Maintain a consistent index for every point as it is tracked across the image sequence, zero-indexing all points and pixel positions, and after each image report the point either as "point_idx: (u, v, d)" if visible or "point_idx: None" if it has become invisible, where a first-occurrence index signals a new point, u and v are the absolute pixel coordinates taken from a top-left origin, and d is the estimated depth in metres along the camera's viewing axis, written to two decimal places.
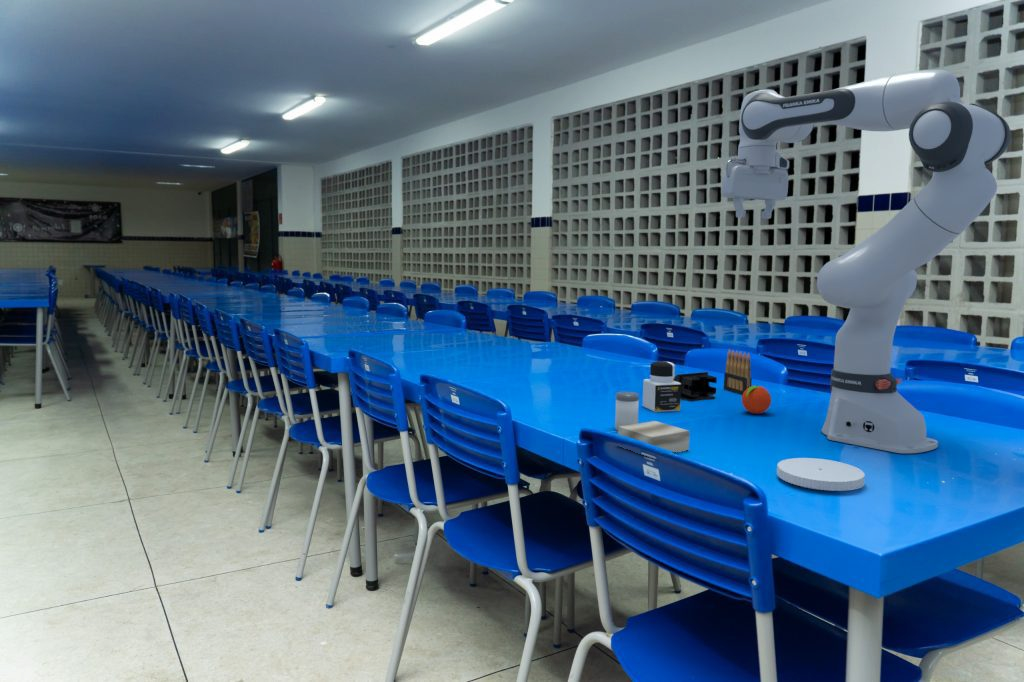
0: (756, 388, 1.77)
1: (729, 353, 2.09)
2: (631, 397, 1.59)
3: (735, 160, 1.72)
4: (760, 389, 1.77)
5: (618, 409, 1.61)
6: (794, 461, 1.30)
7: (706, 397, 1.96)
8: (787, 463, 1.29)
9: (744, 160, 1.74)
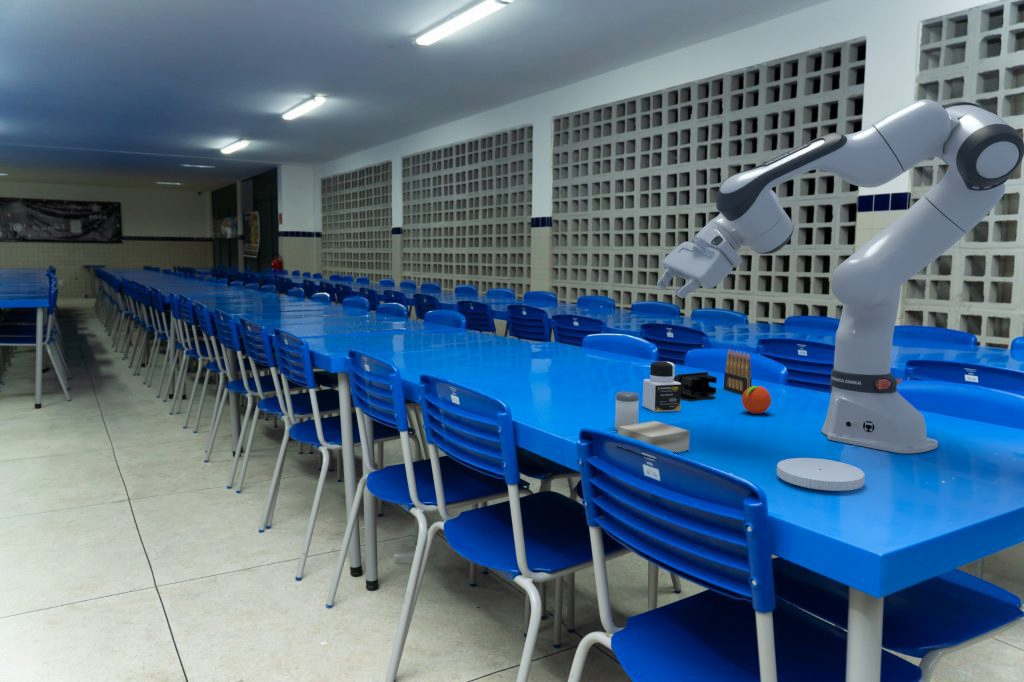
0: (756, 388, 1.77)
1: (729, 353, 2.09)
2: (631, 397, 1.59)
3: (693, 240, 1.65)
4: (760, 389, 1.77)
5: (618, 409, 1.61)
6: (794, 461, 1.30)
7: (706, 397, 1.96)
8: (786, 463, 1.29)
9: None
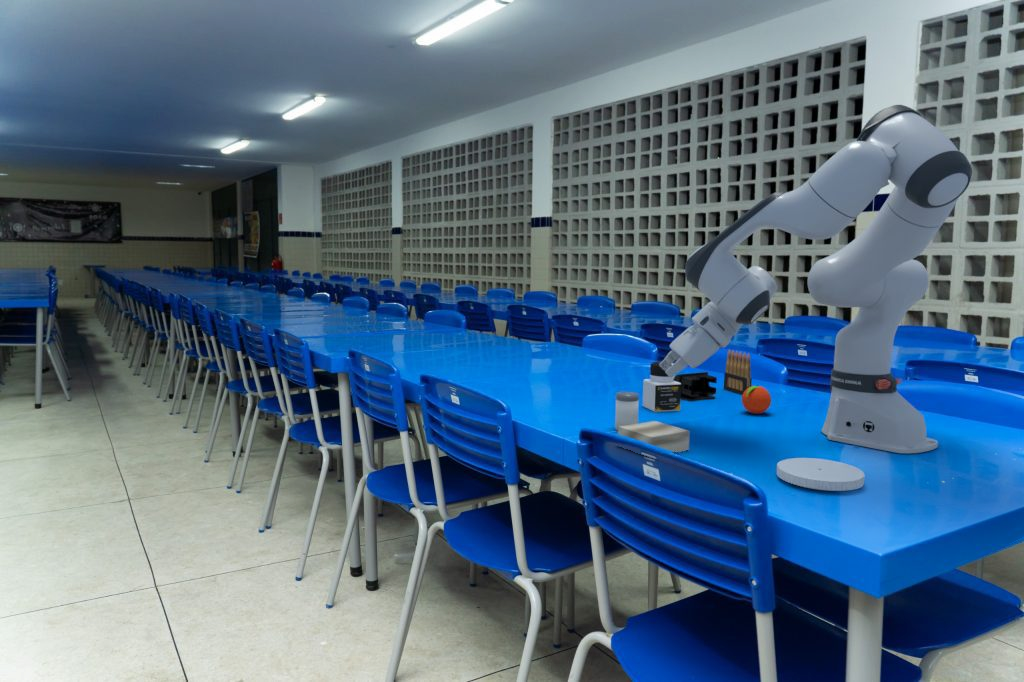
0: (756, 388, 1.77)
1: (729, 353, 2.09)
2: (631, 397, 1.59)
3: None
4: (760, 389, 1.77)
5: (618, 409, 1.61)
6: (794, 461, 1.30)
7: (706, 397, 1.96)
8: (786, 463, 1.29)
9: None
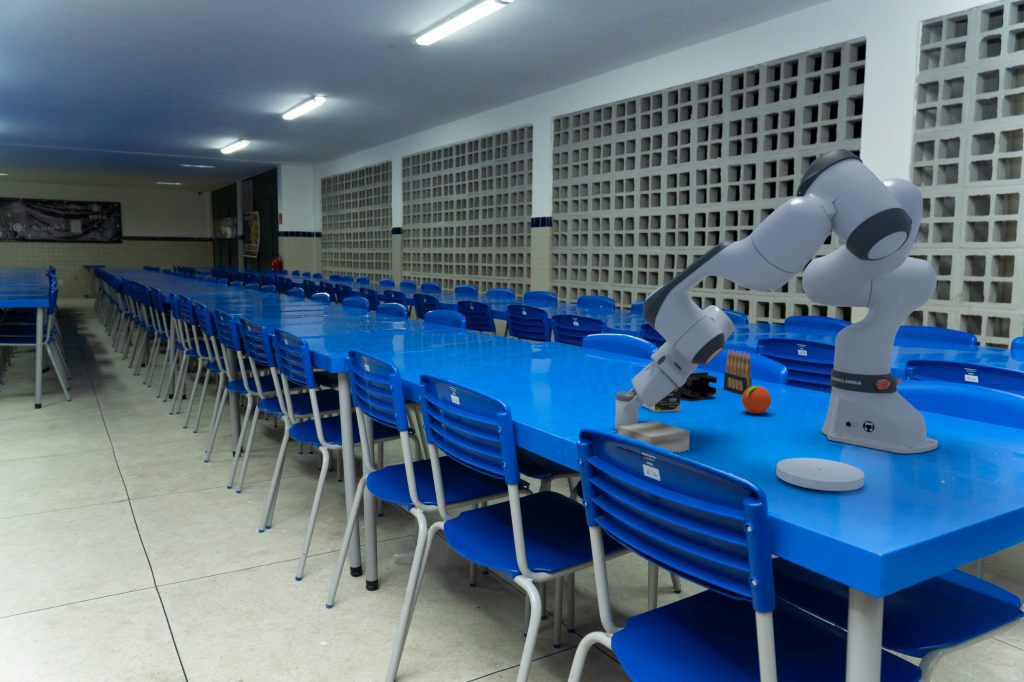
0: (756, 388, 1.77)
1: (729, 353, 2.09)
2: (631, 397, 1.59)
3: None
4: (760, 389, 1.77)
5: (618, 408, 1.61)
6: (793, 461, 1.30)
7: (706, 397, 1.96)
8: (786, 463, 1.29)
9: None
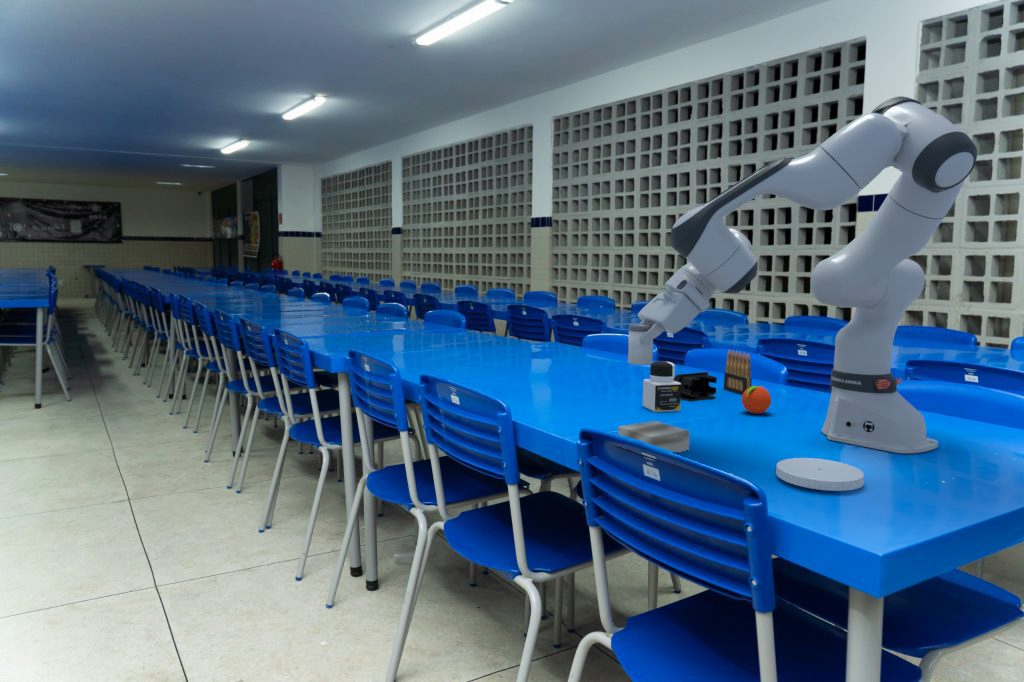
0: (756, 388, 1.77)
1: (729, 353, 2.09)
2: (647, 327, 1.49)
3: None
4: (760, 389, 1.77)
5: (632, 340, 1.50)
6: (793, 461, 1.30)
7: (706, 397, 1.96)
8: (786, 463, 1.29)
9: None
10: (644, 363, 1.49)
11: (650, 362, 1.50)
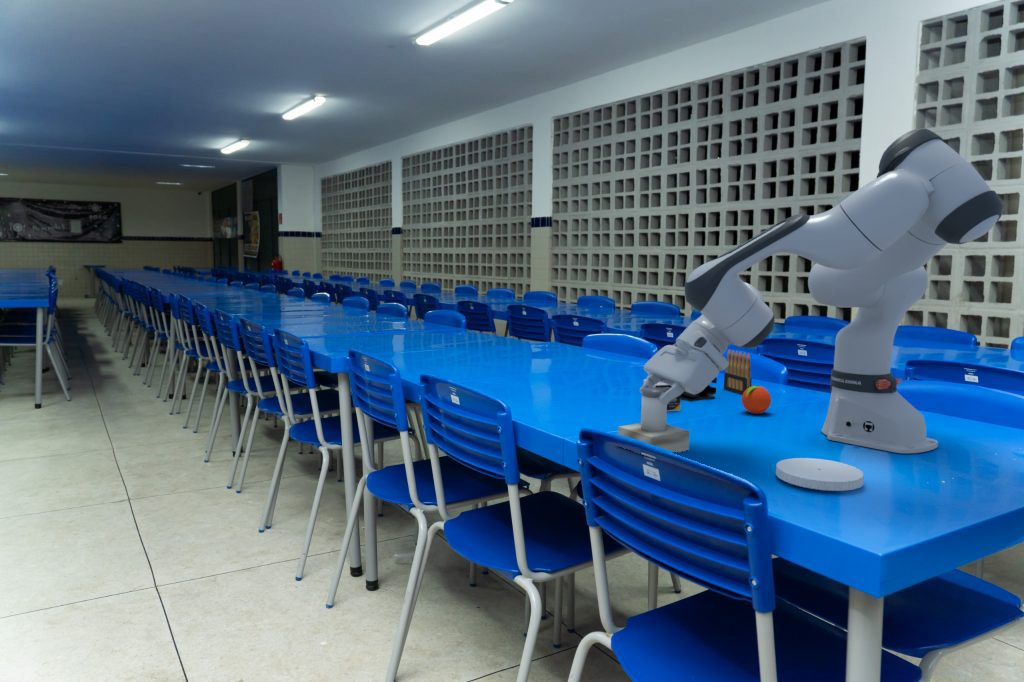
0: (756, 388, 1.77)
1: (729, 353, 2.09)
2: None
3: (675, 343, 1.54)
4: (760, 389, 1.77)
5: (647, 406, 1.44)
6: (793, 461, 1.30)
7: (706, 397, 1.96)
8: (785, 463, 1.29)
9: None
10: (659, 430, 1.44)
11: (664, 428, 1.45)
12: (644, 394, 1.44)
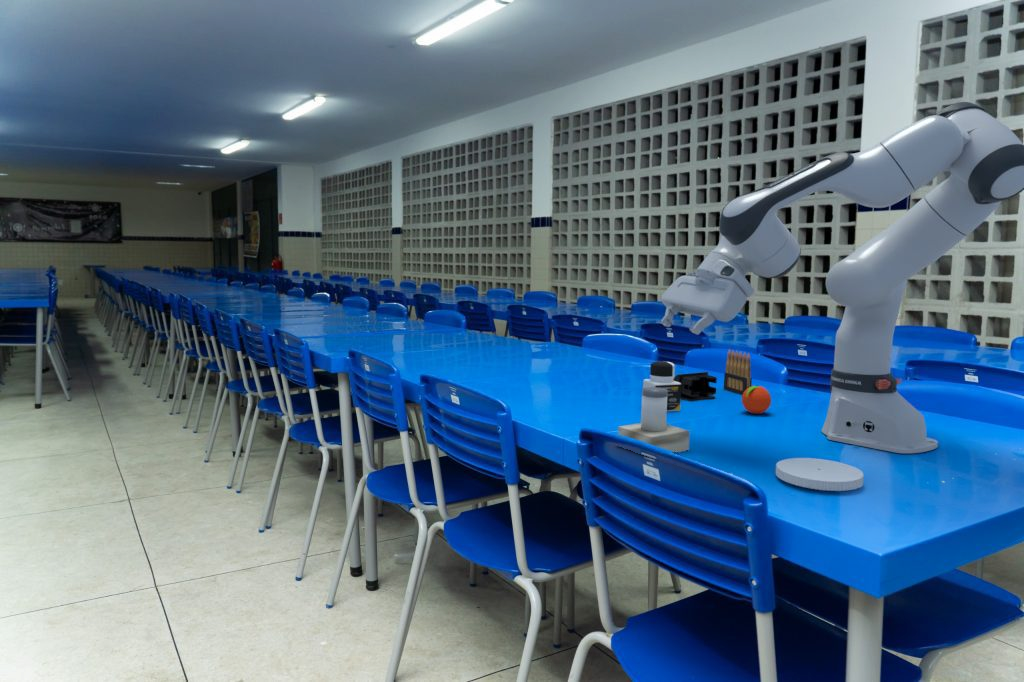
0: (756, 388, 1.77)
1: (729, 353, 2.09)
2: (663, 392, 1.43)
3: (690, 274, 1.57)
4: (760, 389, 1.77)
5: (647, 406, 1.44)
6: (793, 461, 1.30)
7: (706, 397, 1.96)
8: (785, 463, 1.29)
9: None
10: (659, 430, 1.44)
11: (664, 428, 1.45)
12: (644, 394, 1.45)
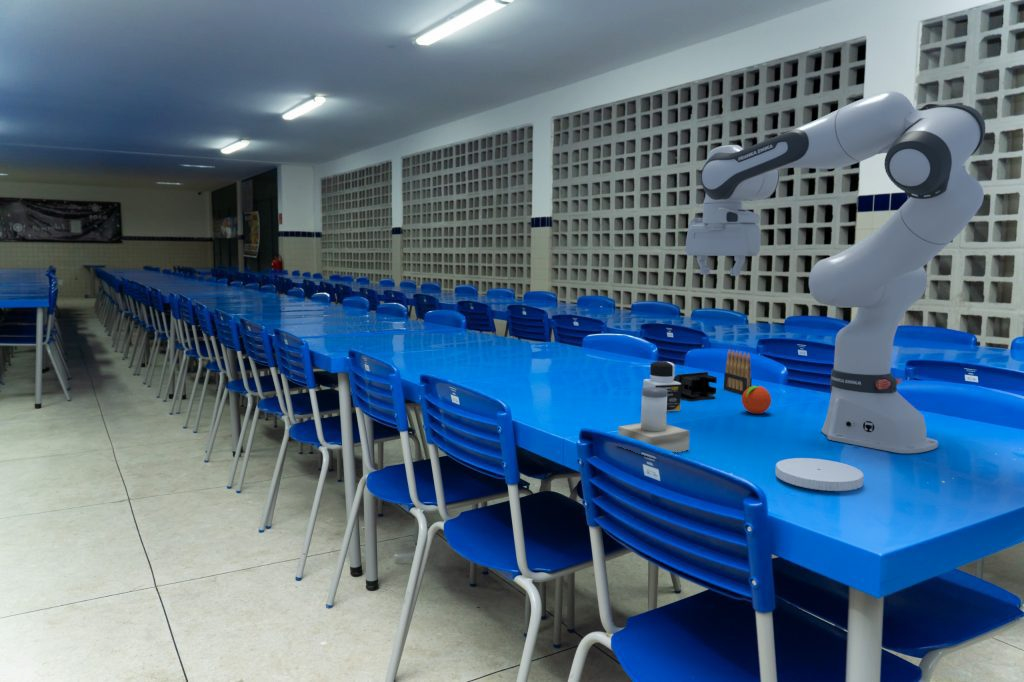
0: (756, 388, 1.77)
1: (729, 353, 2.09)
2: (662, 392, 1.43)
3: (695, 220, 1.78)
4: (760, 389, 1.77)
5: (647, 406, 1.44)
6: (793, 461, 1.30)
7: (706, 397, 1.96)
8: (785, 463, 1.29)
9: None
10: (659, 430, 1.44)
11: (664, 428, 1.45)
12: (644, 394, 1.45)
